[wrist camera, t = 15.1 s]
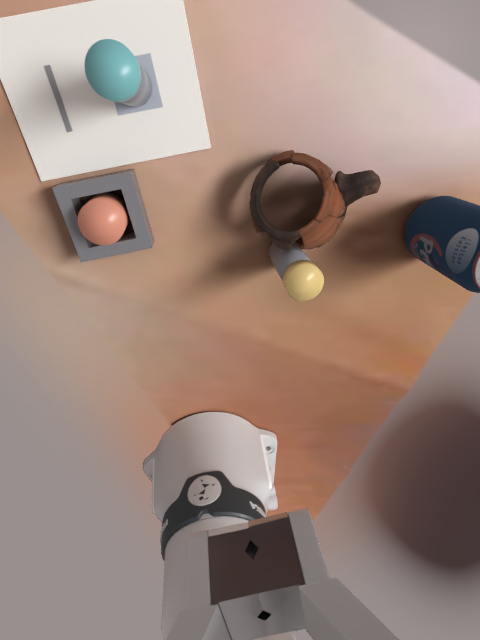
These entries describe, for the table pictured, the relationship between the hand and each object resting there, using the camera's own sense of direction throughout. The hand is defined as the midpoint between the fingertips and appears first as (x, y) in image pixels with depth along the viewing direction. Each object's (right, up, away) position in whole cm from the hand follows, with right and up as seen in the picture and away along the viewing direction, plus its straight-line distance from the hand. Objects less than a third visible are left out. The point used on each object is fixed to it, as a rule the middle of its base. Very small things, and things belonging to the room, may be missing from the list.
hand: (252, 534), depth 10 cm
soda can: (+21, +16, +34) cm, 42 cm away
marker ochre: (+4, +13, +33) cm, 35 cm away
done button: (-13, +16, +28) cm, 35 cm away
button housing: (-13, +16, +29) cm, 35 cm away
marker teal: (-9, +25, +24) cm, 36 cm away
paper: (-12, +25, +24) cm, 37 cm away
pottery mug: (+6, +18, +31) cm, 36 cm away
